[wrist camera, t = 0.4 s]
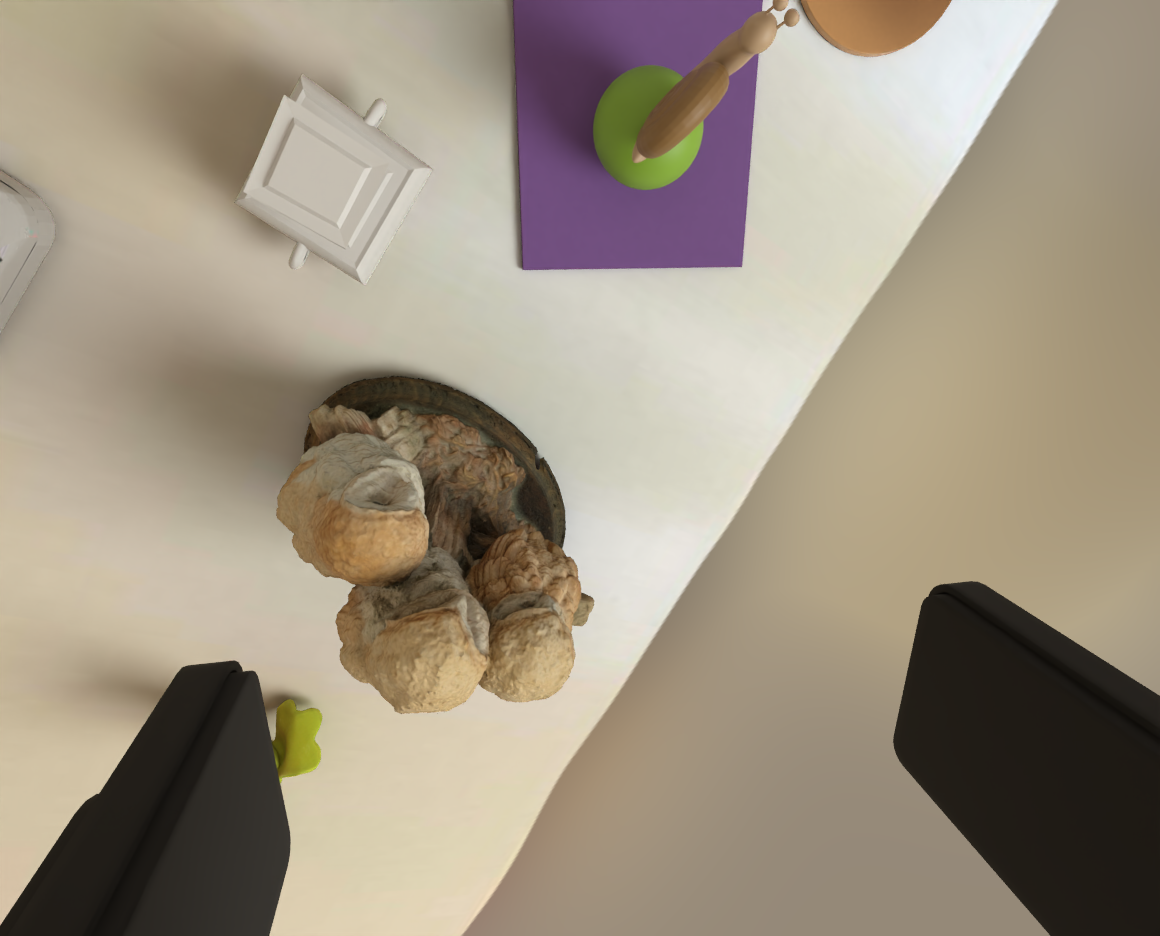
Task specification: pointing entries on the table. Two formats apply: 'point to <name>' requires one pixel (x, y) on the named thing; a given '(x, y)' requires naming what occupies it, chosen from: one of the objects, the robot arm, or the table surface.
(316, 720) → the bird rattle
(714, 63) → the snail figurine
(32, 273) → the handheld gaming device
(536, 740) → the table surface
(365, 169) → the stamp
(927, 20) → the coaster
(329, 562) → the owl figurine
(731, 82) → the cloth
